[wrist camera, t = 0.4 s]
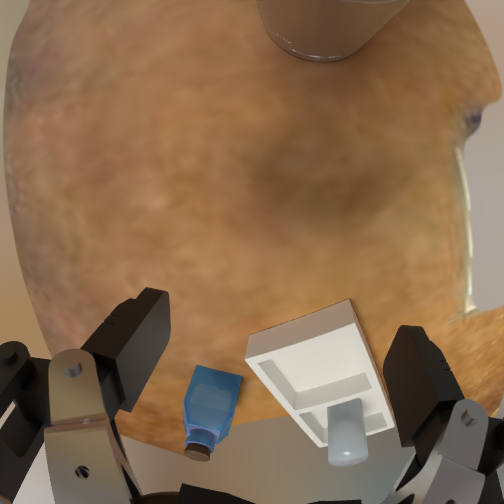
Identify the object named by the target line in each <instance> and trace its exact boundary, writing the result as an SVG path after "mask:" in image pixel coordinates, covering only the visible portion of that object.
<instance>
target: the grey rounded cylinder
mask: <svg viewBox="0 0 504 504" xmlns="http://www.w3.org/2000/svg"><path fill="white" fill-rule="evenodd" d="M327 421H328V459H329V460H328V462H329V463H330V464H331V465H334V466H350V465H354V464H358V463H360V462H362V461H364V460H366V459H367V458H368V450H367V440H366V431H365V423H364V416H363V408H362V401H361V399H360V398H356V399H353V400H350V401H346V402H343V403H339V404H336V405H332V406H329V407H327Z"/></svg>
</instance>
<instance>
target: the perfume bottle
mask: <svg viewBox="0 0 504 504" xmlns="http://www.w3.org/2000/svg"><path fill="white" fill-rule="evenodd" d="M241 379H242V376H240V375H235V374H231V373H227V372H222V371H218V370H214V369H210V368H206V367H202V366H199V365H197V366H196V369H195V371H194V374H193V377H192V379H191V382H190V385H189V388H188V390H187V393H186V396H185V398H184V427H185V431H186V435H187V439H186V442H185V446H186V449H185V450H184V452H183V453H184V455H185V456H187V457H189V458H190V459H193V460H196V461H203V462H205V461H209V460H210V453H212V452H213V450H214V446H215V445H214V444H218V443H219V442H220V441H222V440H223V439H224V438H225V437H226V436H227V435H228V433H229V430H230V426H231V423H232V419H233V416H234V412H235V407H236V403H237V398H238V393H239V389H240V384H241Z"/></svg>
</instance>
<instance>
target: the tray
mask: <svg viewBox="0 0 504 504" xmlns="http://www.w3.org/2000/svg"><path fill="white" fill-rule="evenodd" d="M245 361H246V362H247V363H248V365H249V366H250V367H251V368H252V370H253V371H254V372H255V373H256V375H257V376H258V377H259V378H260V379H261V381H262V382H263V383H264V384H265V386H266V387H267V388H268V389H269V390H270V392H271V393H272V394H273V395H274V396H275V398H276V399H277V400H278V401H279V402H280V404H281V405H282V406H283V407H284V408H285V409H286V411H287V412H288V413H289V414H290V415H291V416H292V417H293V419H294V420H295V421H296V422H297V423H298V424H299V426H300V427H301V428H302V429H303V430H304V431H305V432H306V433H307V435H308V436H309V437H310V438H311V439H312V440H313V441H314V442H315V443H316V445H318V447H324V446H328V421H327V407H329V406H332V405H336V404H339V403H343V402H346V401H350V400H353V399H356V398H360V399H361V401H362V408H363V416H364V423H365V431H366V436H367V435H371V434H374V433H377V432H380V431H384V430H386V429H390V428H393V427H394V426H395V425H394V420H393V415H392V410H391V406H390V403H389V400H388V397H387V394H386V391H385V389H384V386H383V383H382V380H381V377H380V375H379V372H378V369H377V367H376V364H375V361H374V359H373V356H372V354H371V351H370V349H369V346H368V343H367V341H366V338H365V336H364V333H363V331H362V328H361V326H360V324H359V321H358V319H357V316H356V314H355V312H354V309H353V307H352V304H351V302H350V300H349V299H347V300H345V301H342V302H340V303H337V304H335V305H332V306H329V307H327V308H324V309H322V310H319V311H316V312H314V313H311V314H308V315H306V316H303V317H300V318H298V319H295V320H292V321H289V322H286V323H284V324H281V325H278V326H275V327H272V328H269V329H266V330H263V331H260V332H257V333H254V334H251V335H250V336H249V340H248V345H247V350H246V355H245Z"/></svg>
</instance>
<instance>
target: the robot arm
mask: <svg viewBox="0 0 504 504" xmlns="http://www.w3.org/2000/svg"><path fill="white" fill-rule="evenodd" d="M256 1H257V4H258V7H259V10H260V13H261V16H262V19H263V22H264V25H265V27H266V30H267V32H268V34H269V35H270V37H271V38H272V40H273V41H274V42H275V43H276V44H277V45H278V46H279V47H280V48H282V49H283V50H285V51H286V52H288V53H289V54H291V55H294V56H296V57H298V58H301V59H304V60H308V61H312V62H333V61H338V60H341V59H345V58H347V57H349V56H351V55H352V54H354V53H355V52H357V51H358V50H359V49H360V48H361V47H362V46H363V45H364V44H365V43H366V42H367V41H368V40H370V39H371V38H372V37H373V36H374V35H375V34H376V33H377V32H378V31H379V30H380V29H381V28H382V27H383V26H384V25H385V24H386V23H387V22H389V21H390V20H391V19H392V18H393V17H394V16H395V15H396V14H397V13H398V12H399V11H401V10H402V9H403V8H404V7H405V6H406V5H407V4H408V3H409V2H411V1H412V0H256ZM170 332H171V323H170V304H169V294H168V292H167V291H163V290H158V289H153V288H148V287H146V288H145V289H144V290H143V291H142V292H141V293H140V294H139V296H138V297H137V298H136V299H132V298H130V299H128V300H126V301H124V302H123V303H121V304H119V305H118V306H117V307H116V308H115V309H114V310H113V311H112V312H111V314H110V316H108V317H107V318H106V319H105V320H104V323H102V324H101V325H100V326H99V327H98V328H97V330H96V331H95V332H94V333H93V334H92V335H91V337H90V338H89V339H88V340H87V341H86V342H85V344H84V345H83V346H82V347H81V348H80V349H68V350H64V351H62V352H60V353H58V354H57V355H55V356H54V357H53V359H52V360H49V359H41V358H34V357H31V356H30V354H29V352H28V349H27V347H26V346H25V345H24V344H23V343H20V342H17V341H10V342H6V343H3V344H2V345H0V418H1V417H2V415H3V414H4V413H5V411H6V410H7V408H8V407H9V405H10V404H11V402H12V401H13V402H14V404H15V405H16V406H15V408H14V409H13V411H12V412H11V414H10V415H9V417H8V418H7V420H6V421H5V423H4V424H3V426H2V427H1V429H0V504H12V503H13V501H14V499H15V497H16V495H17V493H18V491H19V488H20V486H21V484H22V482H23V480H24V478H25V476H26V474H27V472H28V471H29V468H30V467H31V465H32V463H33V461H34V459H35V457H36V455H37V454H38V452H39V450H40V448H41V446H42V444H43V442H44V441H45V449H46V457H47V464H48V470H49V476H50V481H51V486H52V491H53V495H54V500H55V504H255V503H252V502H249V501H247V500H244V499H241V498H239V497H236V496H233V495H231V494H228V493H224V492H219V491H214V490H209V489H204V488H200V487H195V486H191V485H187V484H183V483H182V485H181V489H180V492H158V493H151V494H147V495H143V493H142V491H141V489H140V486H139V484H138V482H137V479H136V477H135V475H134V473H133V471H132V468H131V466H130V463H129V461H128V458H127V455H126V452H125V449H124V446H123V443H122V439H121V436H120V433H119V430H118V426H117V423H116V419H115V415H116V413H117V412H118V410H119V409H121V410H124V411H127V412H130V413H131V411H132V409H133V407H134V406H135V404H136V402H137V400H138V398H139V396H140V394H141V392H142V390H143V389H144V387H145V385H146V383H147V381H148V379H149V377H150V375H151V374H152V372H153V370H154V368H155V366H156V364H157V362H158V361H159V359H160V357H161V355H162V353H163V351H164V350H165V348H166V346H167V344H168V341H169V338H170ZM383 375H384V378H385V382H386V386H387V389H388V393H389V396H390V400H391V404H392V408H393V412H394V416H395V420H396V424H397V428H398V432H399V437H400V441H401V446H402V447H411V446H415V449H416V451H415V452H414V453H413V454H412V456H411V457H410V459H409V461H408V463H407V465H406V466H405V468H404V470H403V472H402V473H401V475H400V477H399V479H398V480H397V482H396V483H395V485H394V487H393V489H392V490H391V491H390V493H389V494H388V496H387V497H386V498H385V500H384V501H383V502H382V503H381V504H504V500H503V496H502V491H501V487H500V483H499V479H498V475H497V471H496V470H497V469H498V468H499V467H500V466H501V465H502V464H503V463H504V418H503V419H497V418H491V417H488V415H487V413H486V411H485V409H484V408H483V407H482V406H481V405H480V404H479V403H477V402H475V401H473V400H470V399H465V398H464V395H463V393H462V391H461V389H460V387H459V385H458V383H457V381H456V379H455V377H454V375H453V373H452V371H450V367H449V365H448V363H447V362H446V359H445V357H444V355H443V353H442V351H441V350H440V349H439V348H438V347H437V346H436V345H435V344H434V343H433V342H432V341H430V340H429V338H428V336H427V335H426V333H425V331H424V329H423V328H422V327H421V326H409V325H402V326H400V328H399V329H398V331H397V333H396V336H395V338H394V340H393V342H392V345H391V347H390V349H389V351H388V353H387V355H386V357H385V360H384V365H383ZM309 504H362V503H361V500H345V501H318V502H314V503H309Z"/></svg>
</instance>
